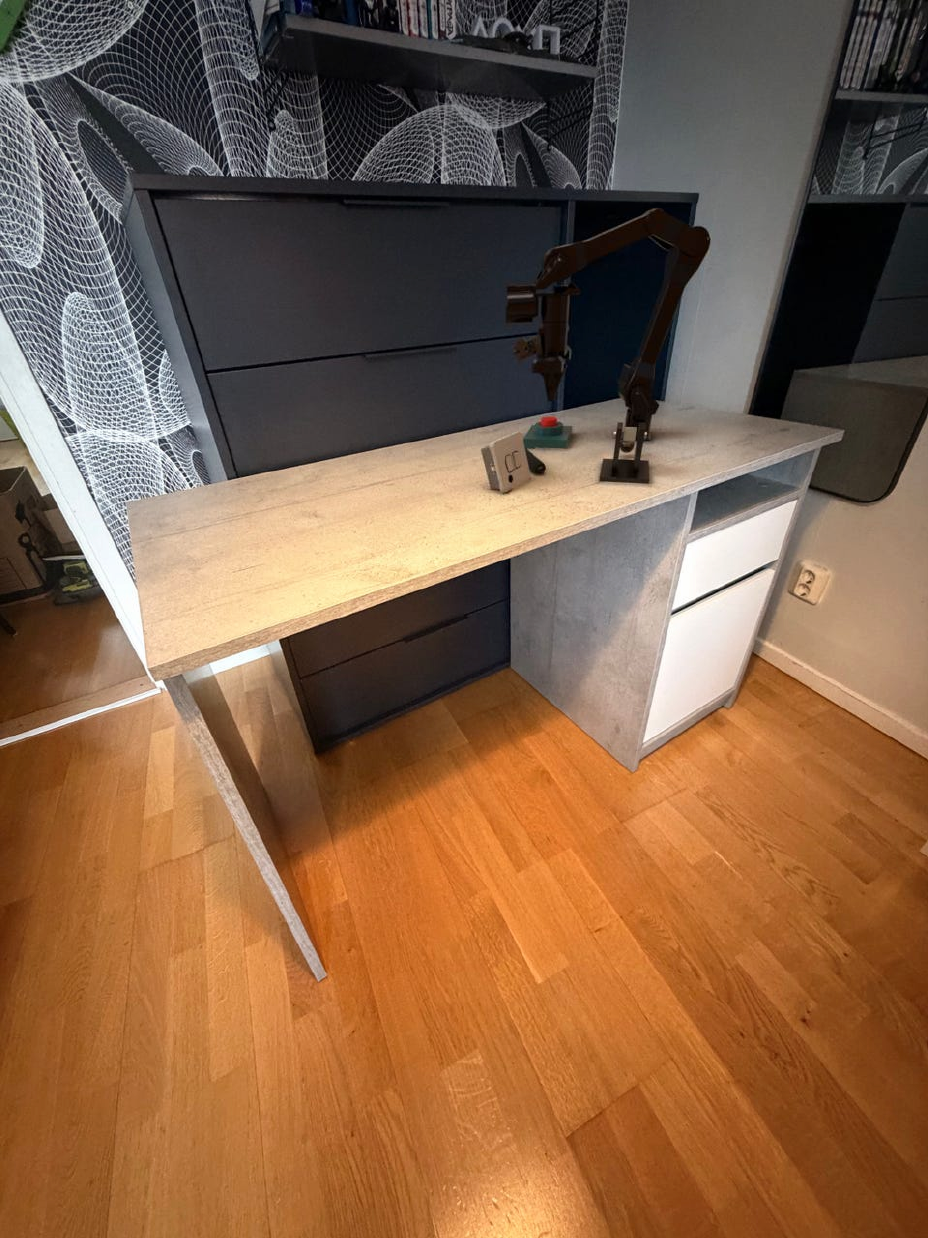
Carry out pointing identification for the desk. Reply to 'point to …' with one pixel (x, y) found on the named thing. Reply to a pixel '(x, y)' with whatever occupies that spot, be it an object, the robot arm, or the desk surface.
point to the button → (548, 421)
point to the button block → (547, 436)
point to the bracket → (626, 462)
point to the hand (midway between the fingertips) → (550, 400)
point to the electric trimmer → (534, 462)
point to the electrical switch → (506, 462)
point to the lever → (628, 439)
